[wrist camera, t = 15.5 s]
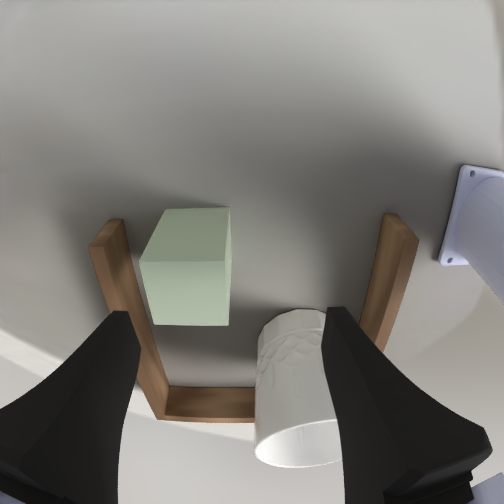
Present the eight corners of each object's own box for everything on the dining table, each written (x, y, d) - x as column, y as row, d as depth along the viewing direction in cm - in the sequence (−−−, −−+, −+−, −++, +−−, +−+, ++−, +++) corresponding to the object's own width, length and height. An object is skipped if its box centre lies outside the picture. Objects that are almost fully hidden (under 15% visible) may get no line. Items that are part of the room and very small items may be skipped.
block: (229, 207, 19) (224, 261, 14) (231, 262, 21) (228, 325, 16) (165, 208, 19) (138, 261, 14) (173, 263, 21) (154, 324, 16)
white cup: (342, 359, 27) (367, 456, 19) (257, 372, 28) (261, 472, 19) (347, 294, 23) (388, 407, 15) (243, 309, 24) (244, 430, 15)
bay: (396, 213, 20) (419, 239, 17) (348, 385, 30) (355, 413, 27) (109, 220, 19) (88, 247, 16) (162, 391, 29) (157, 419, 26)
